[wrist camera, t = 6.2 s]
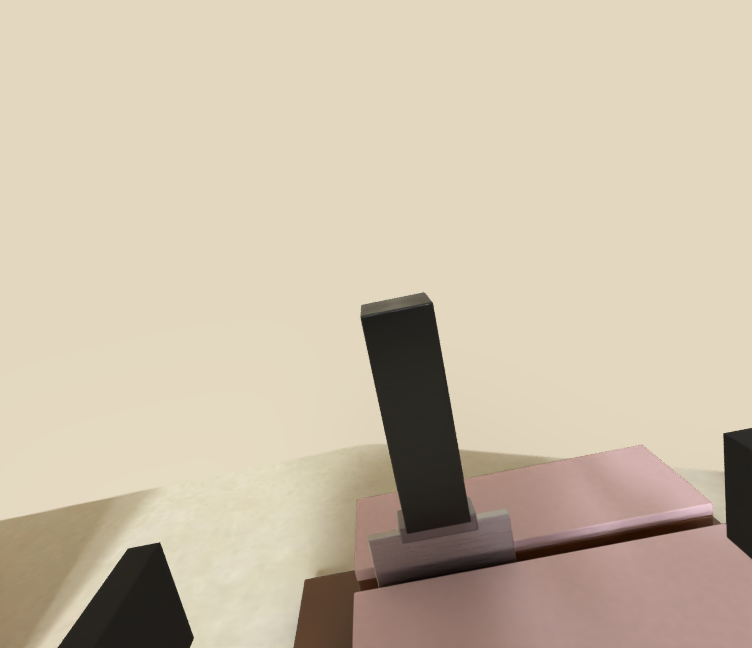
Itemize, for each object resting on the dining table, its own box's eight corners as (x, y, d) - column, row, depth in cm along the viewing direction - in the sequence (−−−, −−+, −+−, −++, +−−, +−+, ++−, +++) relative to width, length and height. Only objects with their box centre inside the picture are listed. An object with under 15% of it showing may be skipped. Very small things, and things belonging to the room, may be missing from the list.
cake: (650, 551, 27) (642, 444, 26) (865, 804, 16) (874, 635, 14) (380, 602, 28) (356, 499, 26) (392, 886, 16) (349, 730, 14)
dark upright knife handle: (525, 657, 23) (467, 283, 18) (542, 703, 20) (480, 292, 16) (404, 679, 23) (318, 313, 19) (408, 727, 21) (312, 325, 16)
